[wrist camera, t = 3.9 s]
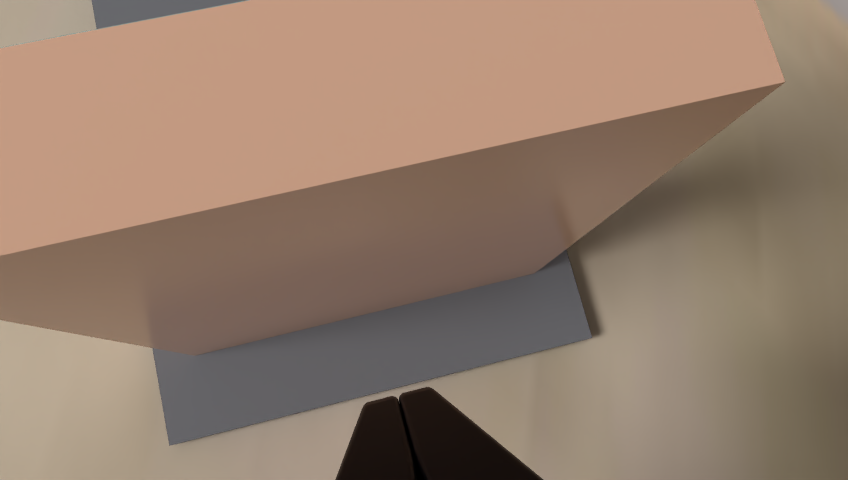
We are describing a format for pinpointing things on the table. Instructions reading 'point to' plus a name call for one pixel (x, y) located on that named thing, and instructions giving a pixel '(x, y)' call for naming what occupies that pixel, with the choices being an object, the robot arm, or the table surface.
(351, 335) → the mat
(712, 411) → the table surface
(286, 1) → the tile
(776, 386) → the table surface
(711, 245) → the table surface
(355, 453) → the robot arm
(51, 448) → the table surface
